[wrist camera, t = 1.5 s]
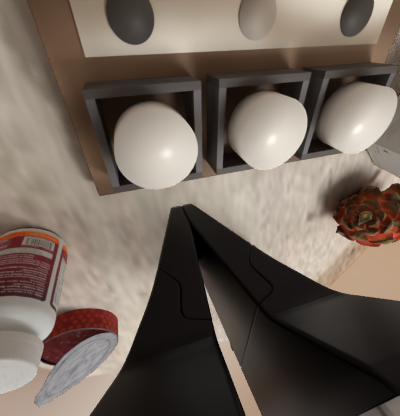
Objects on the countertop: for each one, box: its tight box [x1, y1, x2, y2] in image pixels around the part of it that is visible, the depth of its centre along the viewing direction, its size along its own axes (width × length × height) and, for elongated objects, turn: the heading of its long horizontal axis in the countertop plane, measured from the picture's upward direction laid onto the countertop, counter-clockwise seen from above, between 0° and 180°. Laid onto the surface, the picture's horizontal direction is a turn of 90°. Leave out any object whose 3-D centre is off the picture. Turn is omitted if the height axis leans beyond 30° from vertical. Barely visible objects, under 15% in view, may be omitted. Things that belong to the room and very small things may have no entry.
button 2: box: [114, 100, 198, 189], centre depth 14 cm, size 5×5×2 cm
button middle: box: [227, 90, 307, 170], centre depth 16 cm, size 5×5×2 cm
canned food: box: [34, 308, 118, 407], centre depth 30 cm, size 11×10×10 cm
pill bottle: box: [0, 228, 68, 394], centre depth 18 cm, size 6×6×11 cm
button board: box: [27, 0, 400, 196], centre depth 17 cm, size 14×26×4 cm, turn 91°
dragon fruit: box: [333, 183, 400, 247], centre depth 32 cm, size 8×8×12 cm
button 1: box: [316, 81, 397, 154], centre depth 18 cm, size 5×5×2 cm
